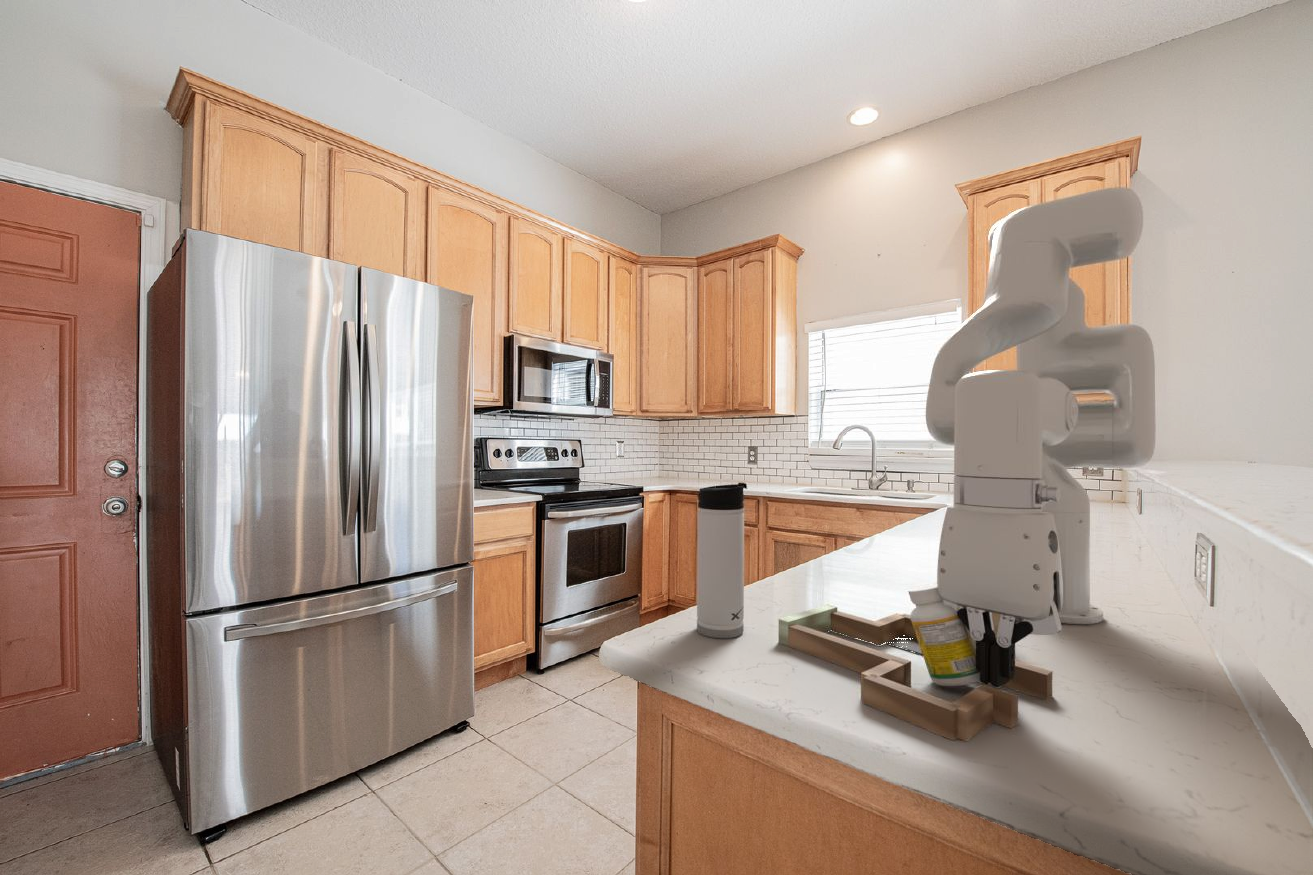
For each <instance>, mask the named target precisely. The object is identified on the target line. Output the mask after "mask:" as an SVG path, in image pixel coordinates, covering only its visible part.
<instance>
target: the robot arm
mask: <svg viewBox="0 0 1313 875" xmlns="http://www.w3.org/2000/svg"><path fill="white" fill-rule="evenodd" d="M1143 226H1144V210H1143V206H1142V202H1141V199H1140V197H1139V196H1138V194H1137V193H1136V192H1135V191H1134V190H1133V189H1131V188H1129V187H1123V186H1122V187H1121V186H1120V187H1119V186H1117V187H1116V186H1115V187H1106V188H1100V189H1097V190H1096V189H1095V190H1092V191H1088V192H1084V193H1079V194H1076V195H1071V196H1066V197H1061V198H1058V199H1055V200H1050V201H1049V200H1048V201H1045V202H1042V203H1037V204H1034V205H1033V204H1032V205H1028V206H1025V207H1023V208H1020V209H1017V210H1016V211H1014V212H1012V213H1010V214H1009V215H1008V216H1006V217H1005V218H1002V219H1001V220H999V221H997V222H996V223H995V224H994V225H993V226H992V227H991V228H990V231H989V233H988V234H989V235H988V249H989V254H990V257H989V258H990V259H989V264H988V265H989V266H988V273H987V279H986V286H985V292H984V298H983V306H982V307H981V308H979V309H978V310H977V311H976V312H975V313H973V314H971V315H970V316H969V318H967V319H966V320H965V321H964V322H963V323H961V325H960V326H959V327H957V329H955V331H954V332H953V333H952V334H951V335H950V336H949V337H948V338H947V340H946V341H945V342H944V344H942V346H941V347H940V349H939V351H937V352H938V353H937V355H936V357H935V359H934V362H933V365H932V369H931V373H930V374H931V375H930V381H929V383H928V384H929V385H928V390H927V396H926V401H925V402H926V404H925V424H926V427H927V431H928V433H929V434H930V436H931V437H932V438H933V440H935V441H936V442H938V443H940V444H942V445H945V446H950V447H951V446H952V447H953V448H954V450H953V451H954V452H953V454H954V455H953V464H954V466H953V475H954V476H953V505H949V506H947V508H946V510H945V515H944V518H943V523H942V527H941V533H940V539H939V546H938V556H937V565H936V566H937V568H936V570H937V571H936V583H937V589H938V593H939V595H940V596H941V597H942V598H943V599H944V600H943V602H944V605H947V606H950V607H952V608H953V609H954V610H955V611H956V612H957V615H958V617H959V619H960V620H961V621H962V622H963V623H964V625H965V626H966V627H967V628H968V629H969V631H970V634H971V637H972V638H973V639H974V640H976V669H977V670H980V680H979V682H980V683H981V684H983V685H989V684H990V685H991V687H993V688H996V689H1000V688H1002V687H1004V686H1003V685H1004V684H1006V683H1007V682H1009V680H1011V679H1013V677H1014V675H1015V661H1016V643H1018V642H1020V641H1021V640H1022V639H1025V638H1026V637H1028V636H1030V635H1035V636H1056V635H1058V634H1059V633H1061V632H1062V630H1063V626H1062V624H1068V625H1069V624H1070V625H1093V624H1097V623H1101V622H1103V620H1104V611H1103V610H1102V609H1101V608H1100V607H1098V606H1095V605H1094V604H1091V597H1090V596H1091V584H1090V583H1091V577H1090V576H1091V502H1090V497H1089V495H1088V493H1087V491H1086V489H1085V488H1084V487H1083V486H1082V484H1081V483H1080V482H1079V481H1078V480H1077V479H1076V478H1074V476H1073V475H1072V474H1070V473H1069V471H1068V469H1070V468H1097V469H1099V468H1102V469H1107V468H1108V469H1132V468H1133V469H1135V468H1140V467H1143V466H1145V465H1147V464H1148V463H1149V462H1150V461H1151V459H1152V458H1153V456H1154V454H1155V453H1154V451H1155V448H1156V431H1157V430H1156V427H1157V426H1156V365H1155V364H1156V362H1155V351H1154V345H1153V341H1152V339H1151V337H1150V334H1149V333H1148V332H1147V330H1146V329H1145V328H1143V327H1142V326H1139V325H1136V324H1131V323H1118V324H1108V325H1098V326H1088V325H1087V324H1086V320H1085V319H1086V313H1085V311H1086V307H1085V306H1086V303H1085V302H1086V299H1085V298H1086V297H1085V293H1084V291H1083V289H1082V287H1080V286H1079V285H1078V283H1076V282H1075V280H1073V279H1072V278H1071V277H1070V269H1073V268H1078V267H1084V266H1089V265H1090V266H1091V265H1095V264H1101V263H1108V262H1114V261H1120V260H1124V259H1127V258H1128V257H1130V256H1131V255H1132V254H1133V252H1134V251H1135V249H1136V248H1137V246H1138V244H1139V242H1140V238H1141V236H1142V233H1143ZM1014 347H1016V348H1015V350H1016V354H1015V355H1016V369H996V370H993V369H992V370H983V371H976V372H972V370H973V369H974V368H976V367H978V366H979V365H980V364H981V363H983V362H985V361H987V360H988V359H990V358H992V357H993V356H995V355H998V354H1000V353H1003V352H1005V351H1008V350H1010V349H1012V348H1014ZM971 372H972V373H971ZM1090 393H1091V394H1092V393H1093V394H1094V393H1104V394H1108V395H1110V396H1111V397H1112V398H1113V401H1097V402H1094V401H1093V402H1078V400H1077V396H1076V395H1075V394H1090ZM991 612H992V613H997V614H1001V617H1000V622H999V628H998V633H997V637H995V632H994V626H993V619H992V613H991Z"/></svg>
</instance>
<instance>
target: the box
mask: <svg viewBox="0 0 1313 875" xmlns="http://www.w3.org/2000/svg"><path fill="white" fill-rule="evenodd" d="M910 615H911V614H907V613H903V614H901V613H894V614H891V615H888V616H885V617H883V618H880V619H876V620H871V619H868V618H865V617H860V616H856V615H854V614H851V613H847V612H844V611H840V610H838V606H835V605H831V604H826V605H822V606H818V607H815V608H811V609H808V610H804V611H801V612H798V613H795V614H791V615H788V616H784V617H780V618H778V643H779V644H780V645H784V646H787V647H788V648H789V647H790V648H792V649H795V650H796V651H797V650H798V651H801V652H803V653H806V654H809V655H811V656H814V657H816V658H819V659H822V660H824V661H827V662H830V663H833V664H836V665H838V666H841V667H844V668H847V669H849V670H852V671H855V672H857V673H860V672H861V673H860V699H862V700H863V704H865V705H867V706H869V707H872V708H874V709H876V710H879V711H882V712H884V713H886V714H889V715H890V716H894V717H895V718H898V719H901V720H903V721H906V722H907V723H910V724H913V725H915V726H917V727H919V728H923V729H925V730H927V731H930V732H931V733H935V734H937V735H939V736H941V737H944V738H947V739H949V740H952V741H955V740H956V739H960V740H962V741H965V742H968V741H969V740H970V739H971V738H973V737H974V736H976V735H977V734H978V733H980V732H981V731H983V730H984V729H985V728H987V727H988V726H990V725H991V724H992V723H995V724H998V725H1001V726H1004V727H1006V728H1009V729H1013V728H1014V727H1015V726H1017V725H1018V724H1019V723H1018V722H1019V695H1016V694H1013V693H1010V692H1007V691H1004V690H1001V689H999V688H996V687H993V686H989V685H987V684H984V683H981V685H979V686H977V687H976V688H974V689H972V690H971V691H970V692H968V693H966V694H965V695H962V697H960V698H958V699H957V700H955V701H953V702H951V701H948V700H945V699H942V698H940V697H937V696H934V695H931V694H929V693H927V692H923V691H920V690H918V689H915V688H912V687H910V686H911V685H912V660H909V659H905V658H902V657H900V656H897V655H893V654H890V653H888V652H887V653H886V652H884V651H881V650H878V649H874V648H871V647H868V646H866V645H863V644H859V643H857V642H853V641H850V640H848V639H845V638H844V639H843V638H842V637H841V638H840V637H838V636H835V635H831V634H828V633H829V632H828V631H830V630H832V631H834V632H837V633H836V634H838V633H841V634H844V635H847V636H849V637H848V638H850V637H852V638H851V639H853V638H858V639H861V640H864V641H867V642H872V643H874V644H876V645H881V644H883V643H885V642H886V643H887V642H888V644H891V645H894V646H898V647H902V646H903V647H902V648H904V649H907V650H908V651H907V650H906V651H907V652H910V651H913V652H915V653H914V654H916V653H918V654H917V655H919V654H921V655H920V656H923V654H922V651H921V648H920V645H919V642H918V639H917V636H916V634H915V631H914V628H913V624H912V621H911V618H910ZM826 632H827V633H826ZM830 632H831V631H830ZM834 632H833V633H834ZM841 634H840V635H841ZM844 635H843V636H844ZM903 635H905V636H903ZM847 636H846V637H847ZM898 637H899V638H908V639H906V640H905V639H904V640H903V639H902V640H901V639H898V640H897V639H895V638H898ZM909 638H911V640H910V639H909ZM912 638H913V639H912ZM893 639H894V640H893ZM974 641H975V644H976V640H974ZM889 642H890V643H889ZM891 642H892V643H891ZM893 642H894V643H893ZM897 642H898V643H897ZM899 642H900V643H899ZM901 642H904V643H901ZM905 642H906V643H905ZM907 642H908V643H907ZM891 645H890V646H891ZM894 646H893V647H894ZM906 646H907V647H906ZM913 652H912V653H913ZM1002 687H1004V688H1007V689H1011V690H1014V691H1017V692H1020V693H1023V694H1026V695H1030V696H1032V697H1036V698H1039V699H1042V700H1045V701H1048V700H1049V699H1050V698H1052V697H1053V671H1052V670H1049V669H1045V668H1042V667H1039V666H1035V665H1032V664H1028V663H1024V662H1021V661H1016V660H1015V675H1014V677H1013V679H1011V680H1009V682H1007V683H1006V684H1004V685H1003V686H1002Z"/></svg>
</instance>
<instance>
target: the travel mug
mask: <svg viewBox="0 0 1313 875" xmlns="http://www.w3.org/2000/svg"><path fill="white" fill-rule="evenodd" d="M747 485H748V484H747V483H746V482H737V484H736V483H734V484H732V483H731V484H720V485H713V486H707V487H702V488H699V491H697V492H698V493H697V496H698V497H697V500H698V502H697V542H696V543H697V548H696V549H697V552H696V553H697V555H696V556H697V562H696V563H697V566H696V568H697V570H696V571H697V572H696V573H697V574H696V577H697V579H696V580H697V582H696V592H697V594H696V595H697V596H696V618H697V619H696V629H697V631H698V633H699V634H701V635H702V636H704V637H709V638H712V639H726V640H727V639H733V638H737V637H740V636H741V635H742V634H743V633H744V629H745V628H744V626H745V625H744V619H745V618H744V616H745V615H744V613H745V610H744V609H745V607H744V606H745V601H744V600H745V595H744V594H745V593H744V592H745V503H744V500H745V497H744V489H746V490H747V489H748V486H747Z"/></svg>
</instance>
